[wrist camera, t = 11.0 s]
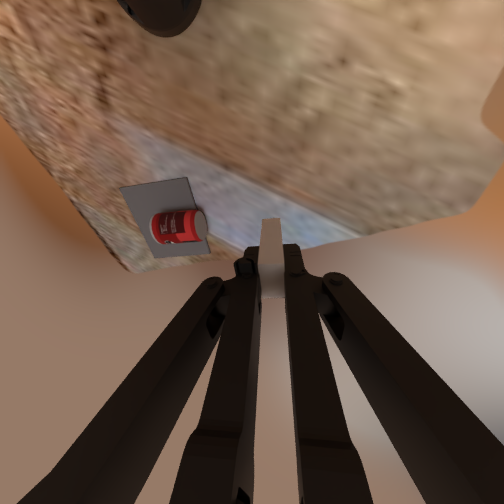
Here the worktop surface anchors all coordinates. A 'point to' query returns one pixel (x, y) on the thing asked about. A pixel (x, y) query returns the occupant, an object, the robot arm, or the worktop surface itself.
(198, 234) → the canned food
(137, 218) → the rubber mat
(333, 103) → the worktop surface
